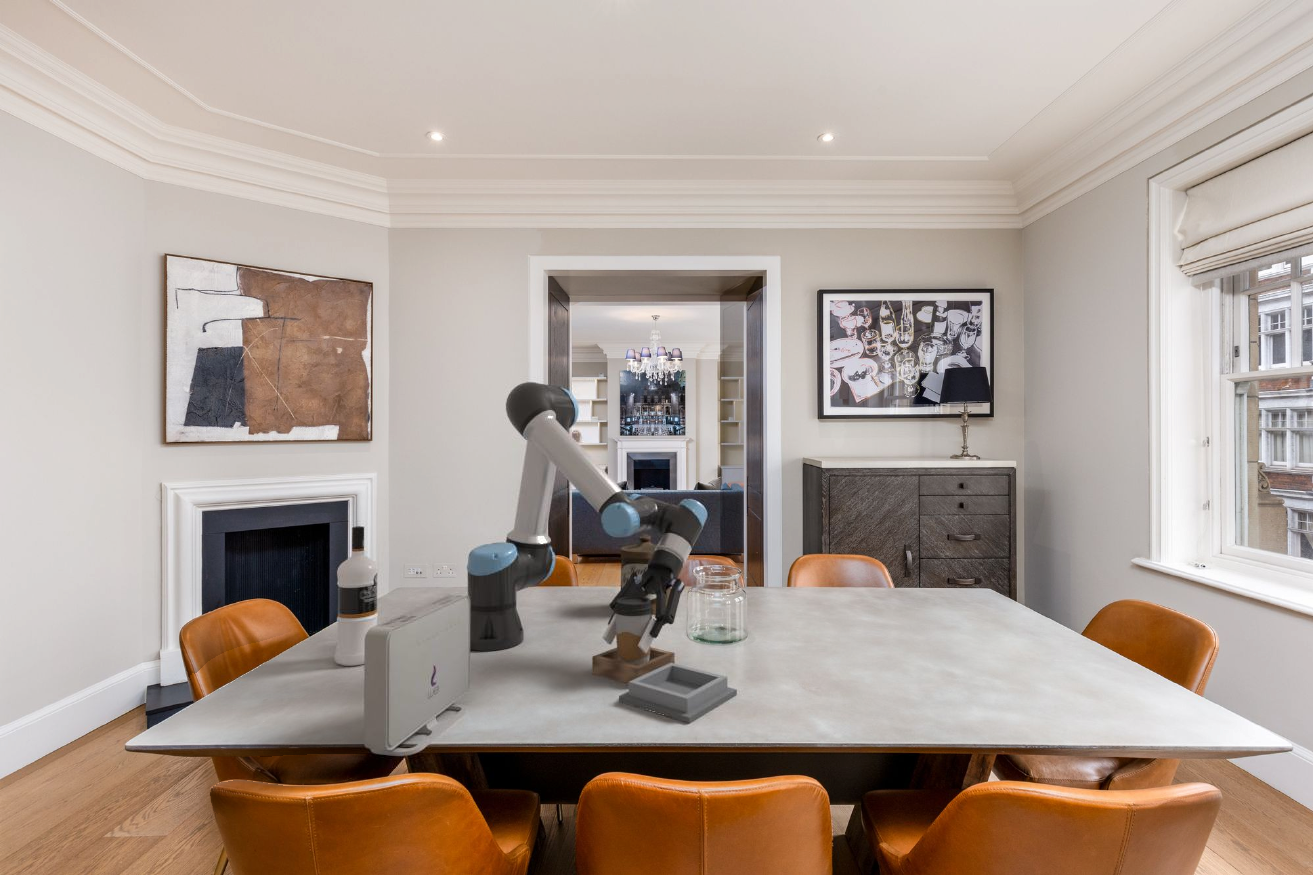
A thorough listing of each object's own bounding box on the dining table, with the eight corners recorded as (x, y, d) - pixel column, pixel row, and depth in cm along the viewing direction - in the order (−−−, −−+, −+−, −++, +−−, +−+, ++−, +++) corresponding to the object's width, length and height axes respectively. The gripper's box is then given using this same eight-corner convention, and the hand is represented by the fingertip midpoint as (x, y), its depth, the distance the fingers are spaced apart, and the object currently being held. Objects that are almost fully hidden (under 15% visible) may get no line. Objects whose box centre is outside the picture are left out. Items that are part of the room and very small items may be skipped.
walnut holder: (592, 673, 133) (592, 656, 133) (630, 657, 143) (630, 642, 143) (637, 686, 126) (637, 668, 126) (674, 669, 136) (674, 652, 136)
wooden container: (615, 614, 181) (615, 537, 182) (626, 602, 196) (626, 530, 196) (666, 616, 179) (666, 538, 179) (674, 603, 194) (673, 531, 194)
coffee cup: (658, 667, 137) (658, 597, 137) (645, 680, 129) (645, 606, 130) (623, 662, 140) (622, 594, 140) (607, 675, 132) (607, 603, 132)
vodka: (345, 653, 147) (346, 524, 147) (386, 653, 147) (387, 523, 148) (326, 667, 137) (327, 529, 138) (369, 667, 138) (370, 528, 138)
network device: (399, 768, 94) (400, 632, 94) (347, 762, 96) (348, 629, 96) (481, 701, 119) (481, 594, 119) (438, 697, 121) (439, 592, 121)
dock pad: (619, 701, 119) (618, 682, 119) (669, 676, 131) (669, 659, 131) (689, 723, 109) (689, 702, 109) (736, 694, 122) (736, 676, 122)
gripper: (715, 573, 140) (673, 665, 128) (639, 563, 154) (594, 645, 141) (702, 552, 136) (657, 645, 123) (625, 543, 150) (577, 626, 137)
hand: (623, 645), depth 132 cm, fingers open, 9 cm apart
